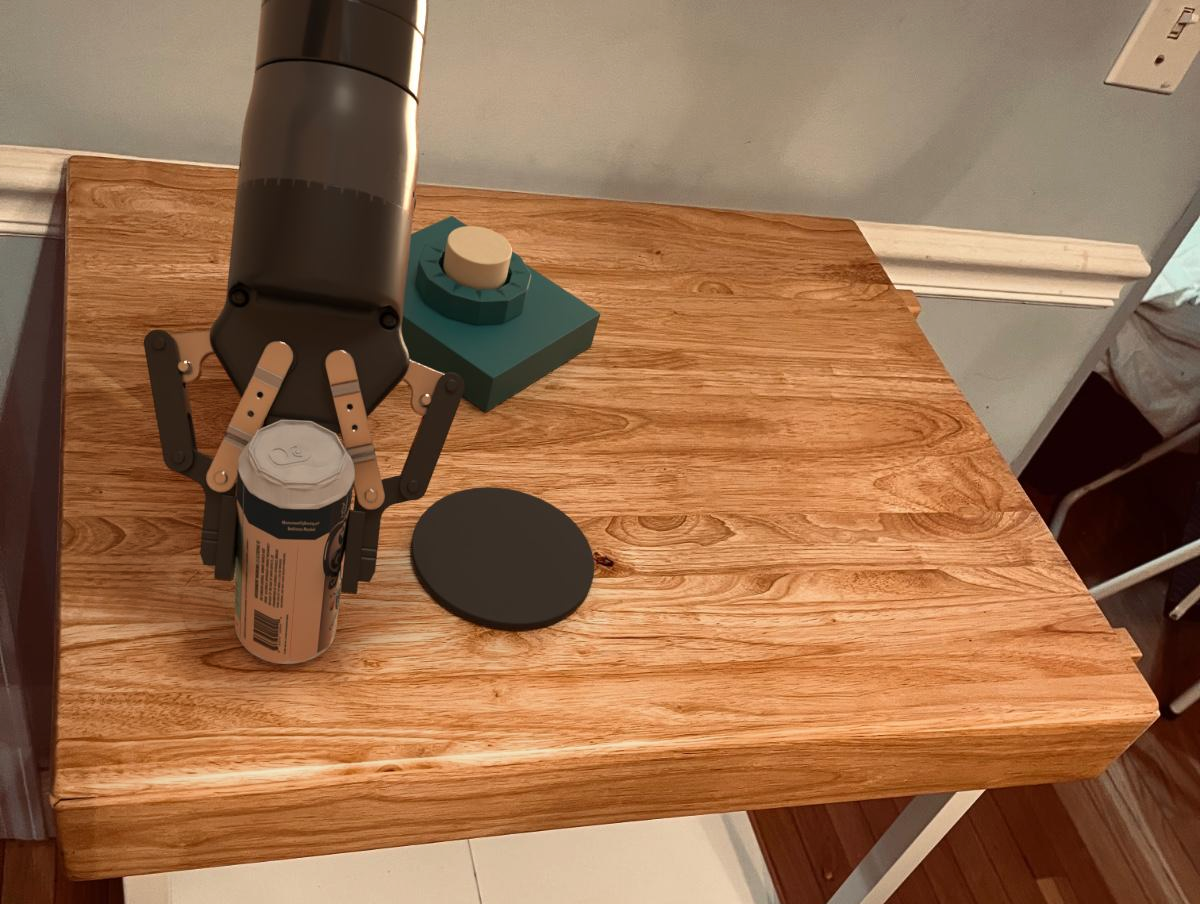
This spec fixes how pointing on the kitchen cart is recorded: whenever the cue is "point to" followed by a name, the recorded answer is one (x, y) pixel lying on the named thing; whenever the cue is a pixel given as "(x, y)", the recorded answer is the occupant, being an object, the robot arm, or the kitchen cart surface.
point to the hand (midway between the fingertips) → (287, 584)
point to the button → (477, 258)
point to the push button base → (489, 322)
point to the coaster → (502, 558)
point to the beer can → (291, 540)
